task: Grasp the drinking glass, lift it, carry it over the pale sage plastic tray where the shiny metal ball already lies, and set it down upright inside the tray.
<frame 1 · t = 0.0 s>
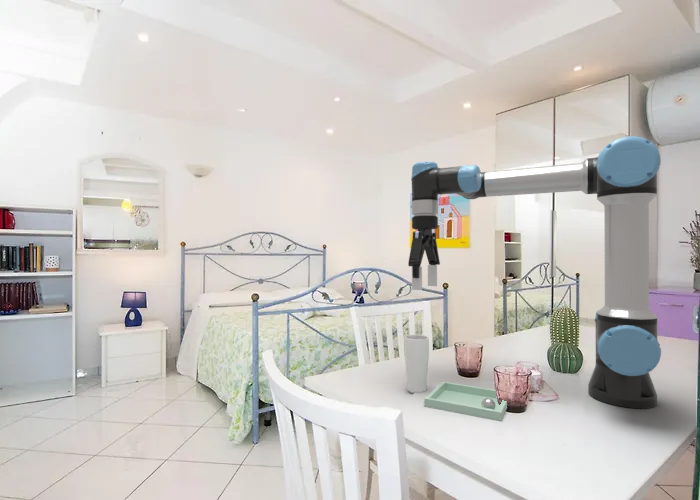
hand: (425, 288, 120), 28 cm above the table, fingers open, 13 cm apart
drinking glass: (416, 391, 113), on the table
shiny metal ball: (488, 411, 97), point 1 cm above the table, touching tray
tray: (468, 405, 103), on the table
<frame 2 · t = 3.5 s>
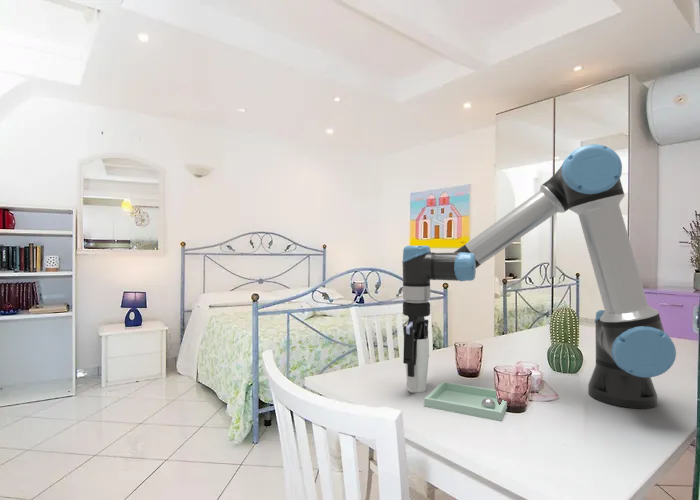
hand: (416, 384, 113), 2 cm above the table, fingers closed on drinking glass, 6 cm apart
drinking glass: (416, 391, 113), on the table, touching gripper
everything else where it was.
when the fingers open (4 cm above the table, at t = 8.8 s): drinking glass drops 1 cm, resting on tray.
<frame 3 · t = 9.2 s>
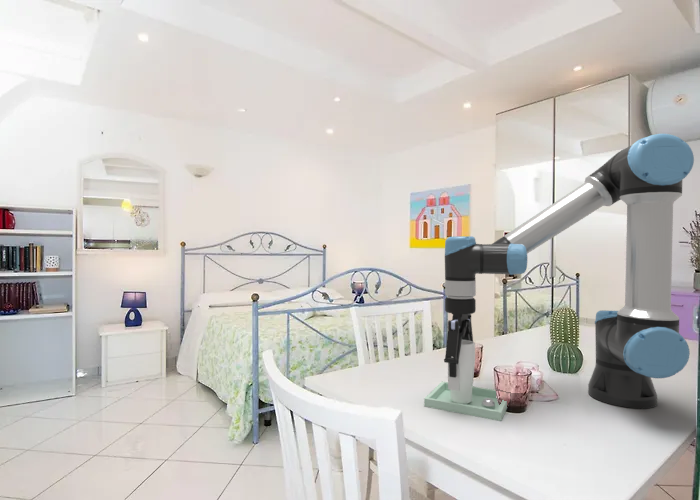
hand: (460, 382, 104), 5 cm above the table, fingers open, 11 cm apart
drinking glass: (461, 401, 104), resting on tray
everything else where it was.
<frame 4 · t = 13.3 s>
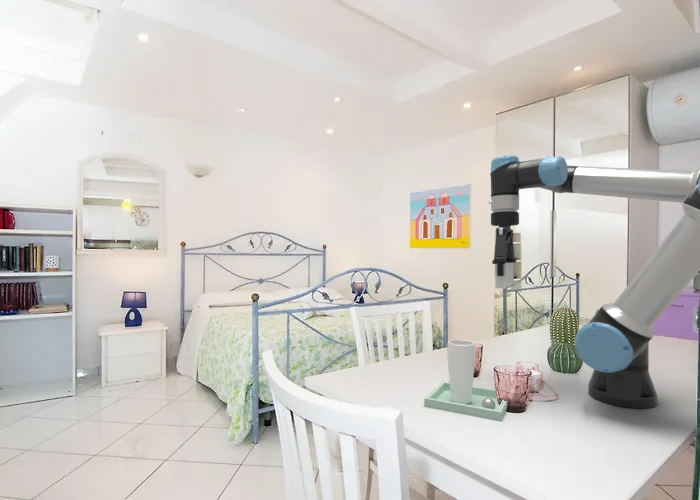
hand: (505, 286, 116), 29 cm above the table, fingers open, 13 cm apart
nothing on the table moved.
at the end: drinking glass inside the target area on the tray (1.8 cm from its centre), point 0.4 cm above the tray's base; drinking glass tilted 1°; the gripper is holding nothing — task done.
